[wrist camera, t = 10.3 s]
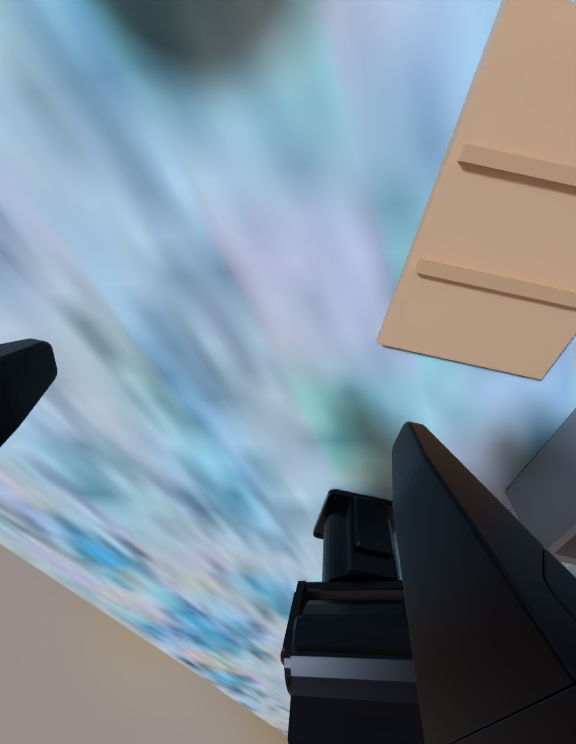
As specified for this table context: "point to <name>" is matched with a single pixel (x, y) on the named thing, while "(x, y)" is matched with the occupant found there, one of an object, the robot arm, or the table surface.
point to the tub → (550, 494)
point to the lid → (501, 208)
